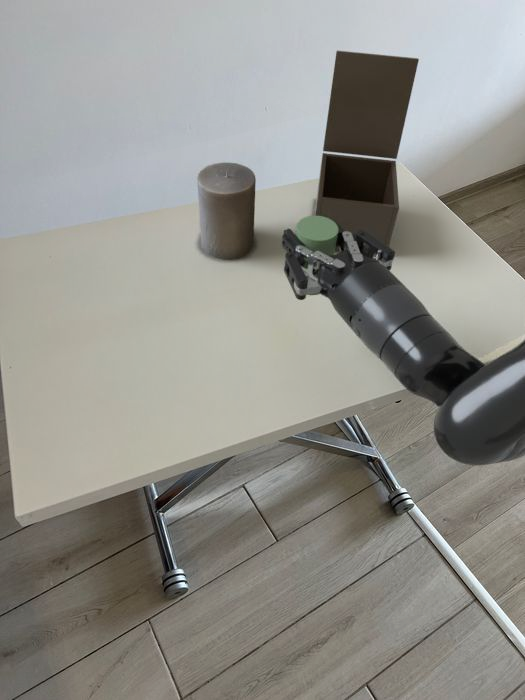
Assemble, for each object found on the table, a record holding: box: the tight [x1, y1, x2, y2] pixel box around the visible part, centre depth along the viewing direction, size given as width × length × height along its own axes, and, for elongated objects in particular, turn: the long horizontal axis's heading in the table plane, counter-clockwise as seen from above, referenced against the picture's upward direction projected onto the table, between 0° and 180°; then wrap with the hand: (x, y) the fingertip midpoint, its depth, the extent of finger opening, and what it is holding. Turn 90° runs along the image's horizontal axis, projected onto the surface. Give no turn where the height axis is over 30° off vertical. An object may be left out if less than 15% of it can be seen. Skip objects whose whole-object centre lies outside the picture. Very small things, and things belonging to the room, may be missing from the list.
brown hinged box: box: [313, 152, 400, 253], centre depth 97 cm, size 16×14×11 cm
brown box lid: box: [322, 50, 420, 160], centre depth 93 cm, size 16×14×1 cm
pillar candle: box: [196, 162, 257, 261], centre depth 91 cm, size 10×10×15 cm
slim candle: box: [295, 215, 338, 296], centre depth 69 cm, size 5×5×9 cm
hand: (305, 229), depth 69 cm, fingers closed on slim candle, 5 cm apart
